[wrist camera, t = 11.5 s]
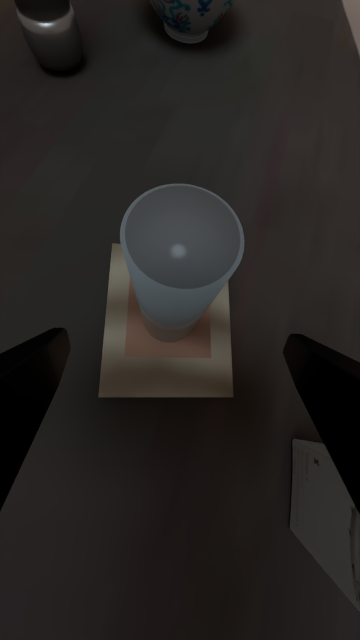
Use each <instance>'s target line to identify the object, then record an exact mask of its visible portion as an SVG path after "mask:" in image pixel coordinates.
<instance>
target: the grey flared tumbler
mask: <svg viewBox="0 0 360 640" xmlns="http://www.w3.org/2000/svg"><path fill="white" fill-rule="evenodd" d="M120 242H121V247H122V251H123V254H124V258H125V261H126V264H127V268H128V271H129V275H130V278H131V281H132V285H133V288H134V292H135V295H136V298H137V302H138V305H139V309H140V312H141V316H142V319H143V322H144V325H145V328H146V330H147V331H148V333H149V334H150V335H151V336H152V337H153V338H155V339H157V340H159V341H161V342H166V343H172V342H177V341H180V340H182V339H184V338H185V337H186V336H187V335H188V334H189V333H190V332H191V331H192V329H193V328H194V326H195V325H196V324H197V322H198V321H199V320H200V318H201V317H202V315H203V314H204V313H205V311H206V310H207V309H208V307H209V306H210V304H211V303H212V302H213V300H214V299H215V298H216V296H217V295H218V294H219V292H220V291H221V289H222V288H223V287H224V285H225V284H226V283H227V281H228V280H229V278H230V277H231V276H232V274H233V273H234V272H235V270H236V268H237V267H238V265H239V263H240V261H241V258H242V255H243V251H244V234H243V229H242V226H241V223H240V221H239V219H238V217H237V215H236V214H235V212H234V211H233V210H232V208H231V207H230V206H229V205H228V204H227V203H226V202H225V201H224V200H223V199H221V198H220V197H219V196H217V195H216V194H214V193H212V192H211V191H208V190H206V189H204V188H201V187H198V186H194V185H189V184H168V185H163V186H159V187H156V188H153V189H151V190H149V191H147V192H145V193H144V194H142V195H141V196H139V197H138V198H137V199H136V200H135V201H134V202H133V203H132V204H131V205H130V207H129V208H128V210H127V211H126V213H125V215H124V218H123V220H122V224H121V230H120Z"/></svg>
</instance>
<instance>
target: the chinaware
mask: <svg viewBox="0 0 360 640" xmlns="http://www.w3.org/2000/svg"><path fill="white" fill-rule="evenodd" d="M149 1H150V3H151V5H152V6H153V8H154V10H155V11H156V13H157V14H158V15H159V17H160V18H161V19H162V20H163V21H164V28H165V31H166V32H167V34H168V35H169V36H170V37H172V38H173V39H175V40H177V41H179V42H183V43H198V42H201V41H202V40H204V39H205V38H206V37H207V35H208V30H209V29H210V28H212V27H213V26H214V25H216V24H217V23H218V22H219V21H220V20H221V19H222V18H223V17H224V16H225V14H226V13H227V12H228V10H229V9H230V8H231V6H232V5H233V3H234V1H235V0H149Z"/></svg>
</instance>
